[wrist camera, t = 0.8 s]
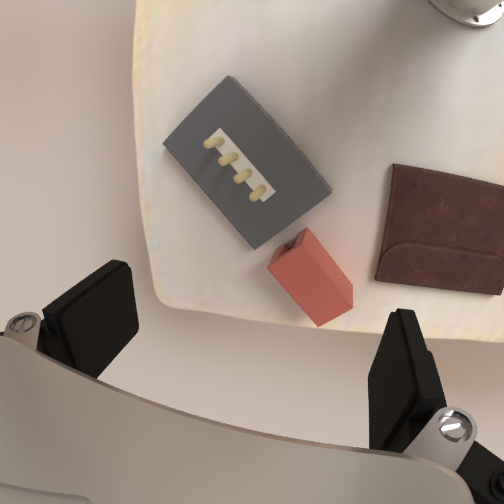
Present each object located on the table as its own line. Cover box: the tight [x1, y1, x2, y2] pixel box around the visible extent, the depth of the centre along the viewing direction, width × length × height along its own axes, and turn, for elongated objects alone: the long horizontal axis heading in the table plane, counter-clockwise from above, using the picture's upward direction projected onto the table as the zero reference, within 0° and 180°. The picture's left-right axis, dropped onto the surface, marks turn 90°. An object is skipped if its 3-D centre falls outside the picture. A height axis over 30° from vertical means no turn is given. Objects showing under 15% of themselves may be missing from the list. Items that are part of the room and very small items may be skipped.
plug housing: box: [267, 227, 353, 327], centre depth 39 cm, size 5×10×6 cm, turn 42°
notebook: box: [375, 164, 504, 295], centre depth 33 cm, size 15×20×2 cm
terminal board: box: [163, 76, 332, 250], centre depth 35 cm, size 12×18×6 cm, turn 42°
